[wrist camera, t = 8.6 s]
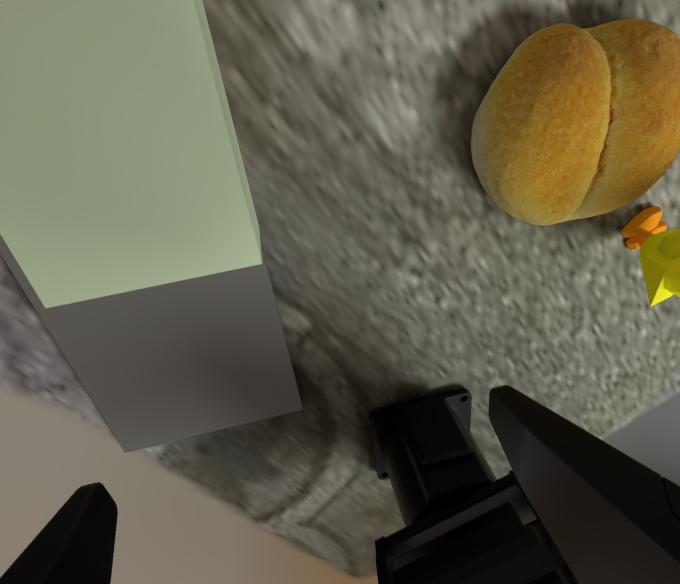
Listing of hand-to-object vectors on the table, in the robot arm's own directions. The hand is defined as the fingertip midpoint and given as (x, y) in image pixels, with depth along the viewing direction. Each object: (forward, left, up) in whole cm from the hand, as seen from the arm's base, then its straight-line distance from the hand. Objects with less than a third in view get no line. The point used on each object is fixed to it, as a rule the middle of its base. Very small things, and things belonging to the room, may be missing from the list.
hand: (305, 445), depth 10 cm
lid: (+7, +4, -9) cm, 12 cm away
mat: (-4, +6, -12) cm, 13 cm away
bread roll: (+3, -14, -12) cm, 18 cm away
